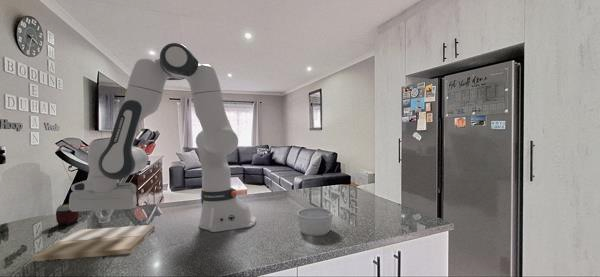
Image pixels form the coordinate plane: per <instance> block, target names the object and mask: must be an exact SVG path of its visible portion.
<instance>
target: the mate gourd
mask: <svg viewBox="0 0 600 277" xmlns="http://www.w3.org/2000/svg"><path fill="white" fill-rule="evenodd" d="M79 213H80V211H71V210H70V209H69V203H64V204H60V205H59V206H57V208H56V210H55V218H56V219H55V220H56V223H57V227H63V226H64V227H65V226H66V227H71V226H70V225H74V224H78V223H79V221H78V219H79Z"/></svg>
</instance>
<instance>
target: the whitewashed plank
mask: <svg viewBox="0 0 600 277" xmlns="http://www.w3.org/2000/svg"><path fill="white" fill-rule="evenodd" d="M155 228H156V227H155V224H147V225H146V224H145V225H130V226H116V227H101V228H85V229H77V230H76V231H74V232H72V233H70V234H69V235H67V236H65V237H64V238H62V239H60V240H59V241H58V242H68V241H81V240H95V239H109V238H122V237H136V236H144V241H145V240H146V239H147V238H148V237H149V236H150V234H152V233H153V232H154V230H155Z"/></svg>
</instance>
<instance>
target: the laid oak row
mask: <svg viewBox="0 0 600 277" xmlns="http://www.w3.org/2000/svg"><path fill="white" fill-rule="evenodd" d="M144 241H145V240H144V236H136V237H122V238H109V239H95V240H81V241H68V242H59V241H57V242H56V243H54V244H52V245H50V246H48V247H47V248H45V249H43V250H42V251H40V252H38V253H36V254H34V255H33V256H32V262H34V263H35V261H37V262H45V260H49V261H58V260H57V259H61V260H71V259H81V258H95V257H96V258H97V257H107V256H108V257H109V256H118V255H130V254H132V253H133V252H134V251H135V250H136V249H137V248H138V247H139V246H140V245H141V244H142V243H143V242H144ZM55 259H56V260H55Z"/></svg>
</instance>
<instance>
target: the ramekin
mask: <svg viewBox="0 0 600 277" xmlns="http://www.w3.org/2000/svg"><path fill="white" fill-rule="evenodd" d="M296 217H297V221H298V227H299V230H300V232H301V233H303V235H306V236H310V237H320V236H325V235H327V234H328V233H329V232H330V231H331V228H332V220H333V219H332V218H333V212H332V211H331V210H330V209H327V208H325V207H306V208H302V209H299V210H298V211H297V212H296Z"/></svg>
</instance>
